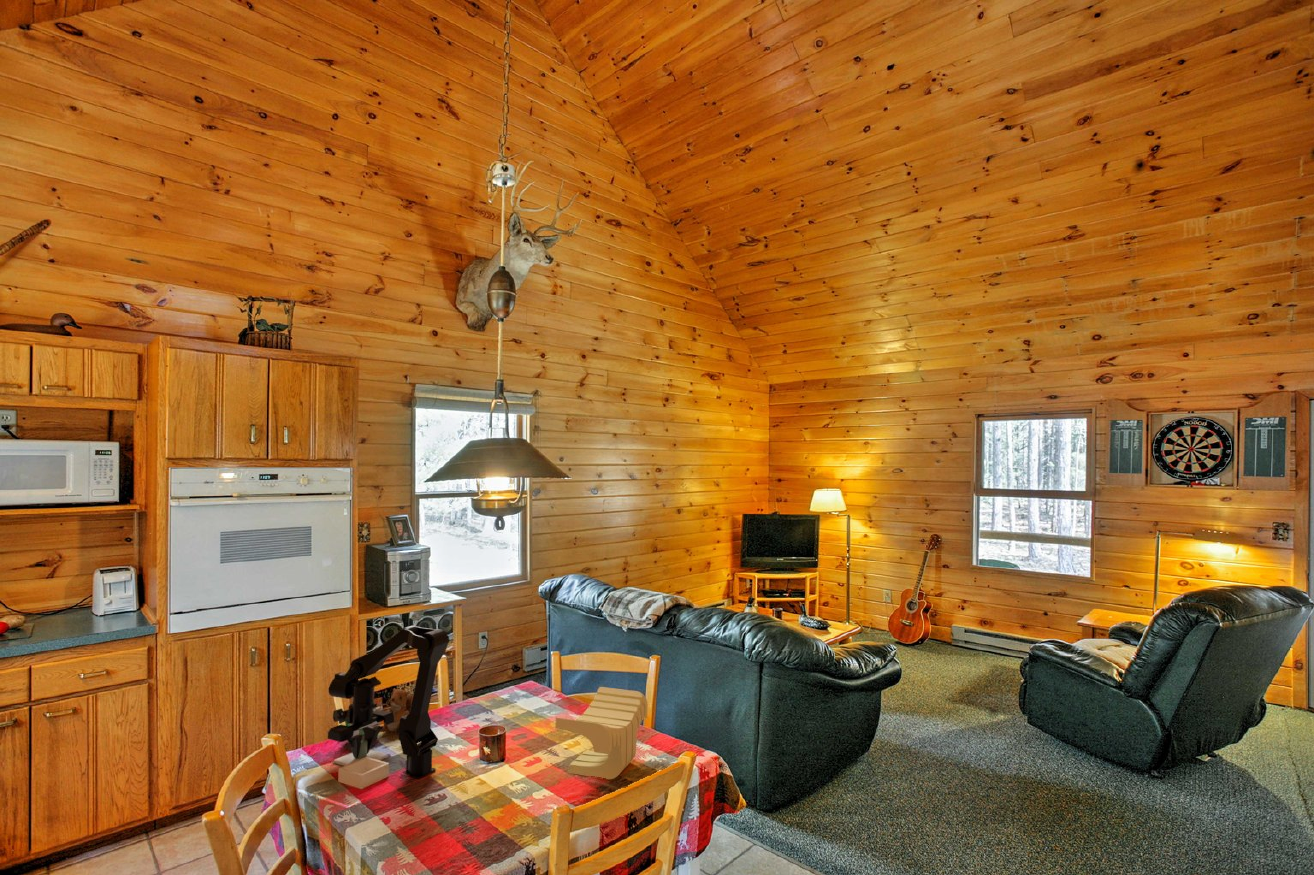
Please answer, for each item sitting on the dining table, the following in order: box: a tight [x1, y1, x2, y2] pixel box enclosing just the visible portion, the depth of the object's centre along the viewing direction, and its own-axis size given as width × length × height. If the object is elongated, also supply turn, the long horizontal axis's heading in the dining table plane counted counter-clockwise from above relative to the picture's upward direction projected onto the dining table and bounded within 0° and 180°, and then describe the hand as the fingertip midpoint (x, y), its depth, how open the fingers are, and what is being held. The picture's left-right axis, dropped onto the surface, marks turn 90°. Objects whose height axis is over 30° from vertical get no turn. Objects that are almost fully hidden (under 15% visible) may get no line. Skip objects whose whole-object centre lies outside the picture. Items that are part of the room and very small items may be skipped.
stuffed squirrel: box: [380, 687, 414, 734], centre depth 225 cm, size 10×14×13 cm
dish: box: [337, 757, 390, 790], centre depth 185 cm, size 9×9×4 cm
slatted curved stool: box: [554, 686, 648, 780], centre depth 197 cm, size 30×16×18 cm, turn 161°
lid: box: [333, 739, 388, 766], centre depth 198 cm, size 10×10×5 cm
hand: (361, 755), depth 197 cm, fingers closed on lid, 3 cm apart
